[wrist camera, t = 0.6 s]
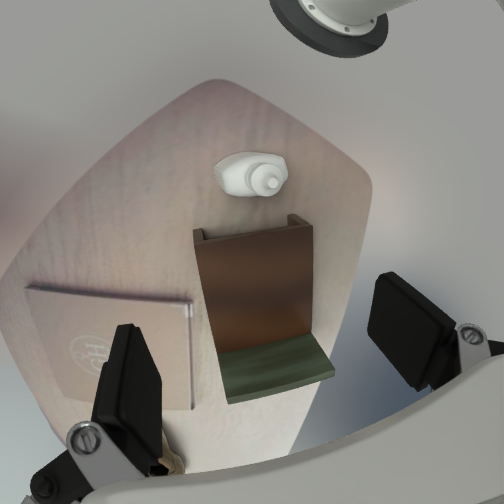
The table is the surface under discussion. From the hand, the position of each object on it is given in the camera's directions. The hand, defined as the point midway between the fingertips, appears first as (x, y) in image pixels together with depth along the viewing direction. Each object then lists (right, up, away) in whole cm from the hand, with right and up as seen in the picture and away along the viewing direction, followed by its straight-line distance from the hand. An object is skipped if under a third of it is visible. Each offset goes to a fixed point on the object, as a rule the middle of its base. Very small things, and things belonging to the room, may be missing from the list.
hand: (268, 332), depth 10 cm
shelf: (-1, 0, +24) cm, 24 cm away
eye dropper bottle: (-2, +12, +19) cm, 23 cm away
